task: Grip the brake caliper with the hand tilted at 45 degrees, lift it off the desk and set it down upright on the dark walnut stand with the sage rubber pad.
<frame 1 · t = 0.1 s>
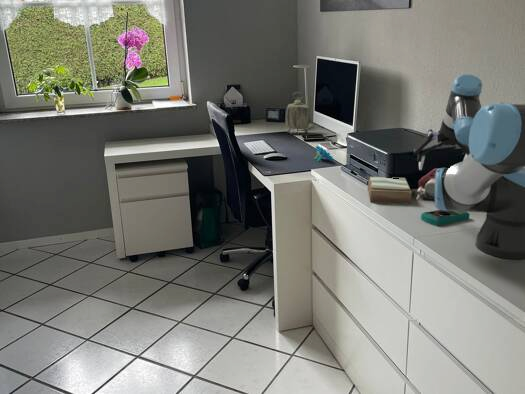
hand: (441, 168, 165), 15 cm above the table, tool tilted 35°, fingers open, 13 cm apart
digital multimeter: (444, 221, 163), on the table
walnut stand: (388, 195, 187), on the table
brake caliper: (432, 198, 185), on the table
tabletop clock: (297, 134, 305), on the table
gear: (323, 161, 239), on the table
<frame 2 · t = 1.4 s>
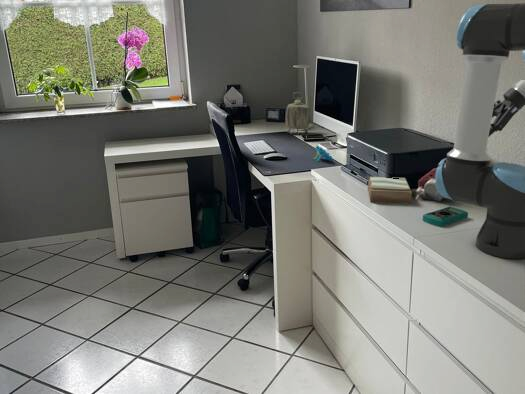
hand: (469, 138, 177), 22 cm above the table, tool tilted 45°, fingers open, 13 cm apart
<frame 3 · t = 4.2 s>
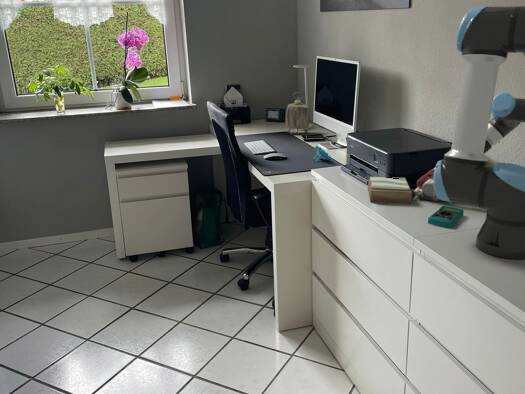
hand: (437, 179, 183), 7 cm above the table, tool tilted 45°, fingers open, 13 cm apart
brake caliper: (430, 198, 184), on the table, touching gripper
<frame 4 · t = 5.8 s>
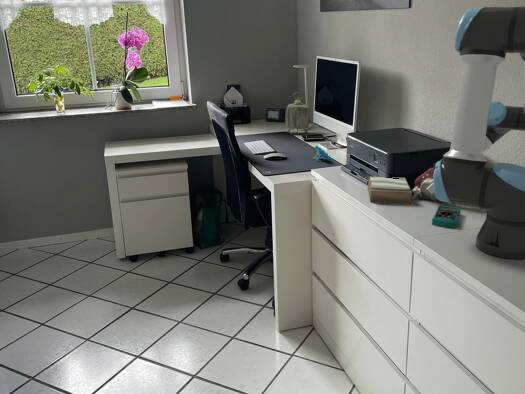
hand: (425, 186, 184), 4 cm above the table, tool tilted 45°, fingers closed on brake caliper, 10 cm apart
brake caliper: (428, 198, 185), on the table, touching gripper
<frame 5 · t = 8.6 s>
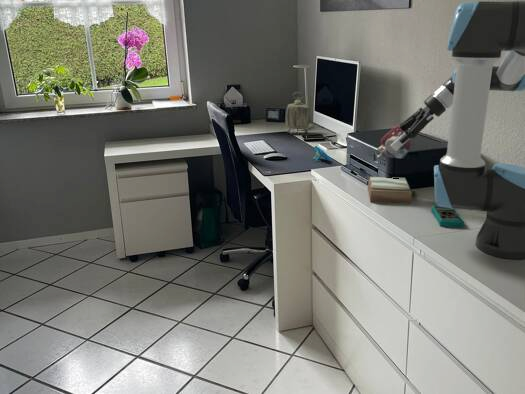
hand: (390, 145, 182), 19 cm above the table, tool tilted 45°, fingers closed on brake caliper, 10 cm apart
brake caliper: (394, 156, 183), point 15 cm above the table, touching gripper
when the fingers open (10 cm above the table, at t = 11.3 s): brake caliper drops 1 cm, resting on walnut stand.
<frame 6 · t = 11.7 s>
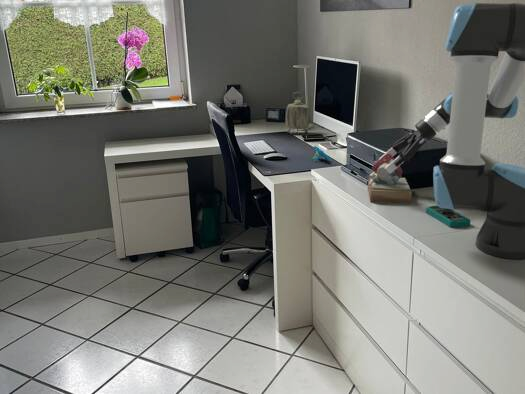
hand: (384, 166, 184), 11 cm above the table, tool tilted 45°, fingers open, 13 cm apart
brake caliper: (385, 183, 186), point 5 cm above the table, touching walnut stand
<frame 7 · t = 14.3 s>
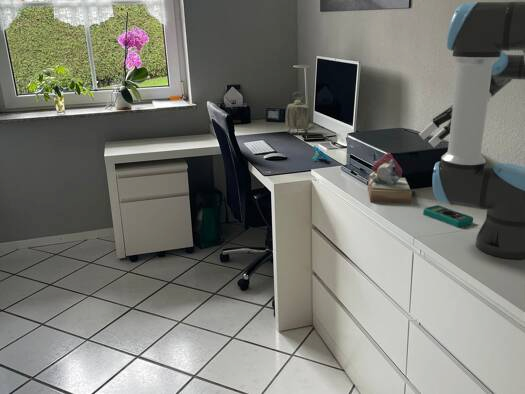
hand: (425, 140, 180), 21 cm above the table, tool tilted 45°, fingers open, 13 cm apart
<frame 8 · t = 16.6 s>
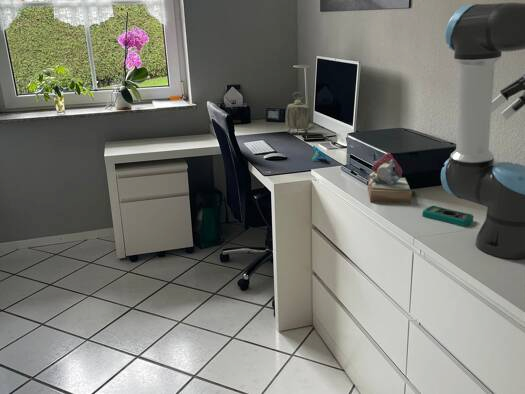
hand: (495, 113, 163), 33 cm above the table, tool tilted 45°, fingers open, 13 cm apart
at the end: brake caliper inside the target area on the walnut stand (1.3 cm from its centre), point 4.8 cm above the walnut stand's base; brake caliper tilted 2°; the gripper is holding nothing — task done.
